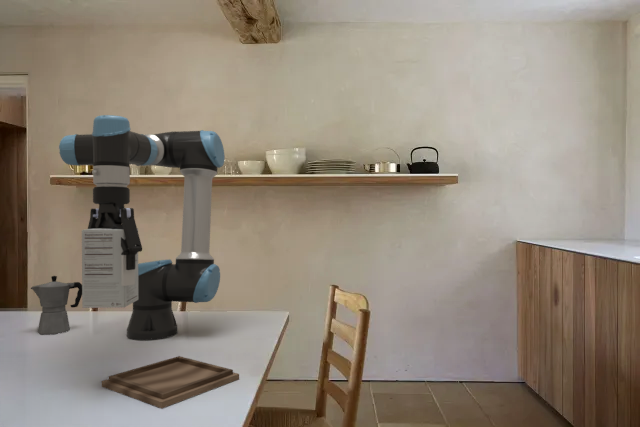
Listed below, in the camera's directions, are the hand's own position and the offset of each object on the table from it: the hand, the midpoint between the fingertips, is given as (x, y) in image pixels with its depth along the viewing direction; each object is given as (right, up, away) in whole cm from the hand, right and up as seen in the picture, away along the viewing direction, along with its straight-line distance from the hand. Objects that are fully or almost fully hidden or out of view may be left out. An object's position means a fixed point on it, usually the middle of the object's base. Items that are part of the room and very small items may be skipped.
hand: (111, 282), depth 109 cm
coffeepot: (-39, -23, +50) cm, 68 cm away
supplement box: (0, -5, 0) cm, 5 cm away
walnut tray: (+13, -22, +1) cm, 26 cm away
